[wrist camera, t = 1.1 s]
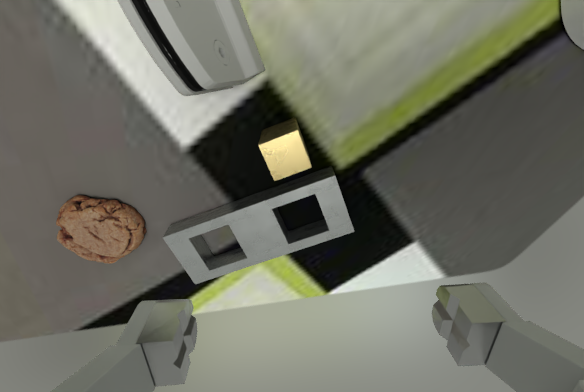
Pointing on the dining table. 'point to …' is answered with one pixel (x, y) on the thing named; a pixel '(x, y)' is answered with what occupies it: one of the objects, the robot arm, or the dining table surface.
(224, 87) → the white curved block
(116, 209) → the cookie
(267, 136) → the wood grain block
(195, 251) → the grey shape sorter tray
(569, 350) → the robot arm
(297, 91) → the dining table surface
